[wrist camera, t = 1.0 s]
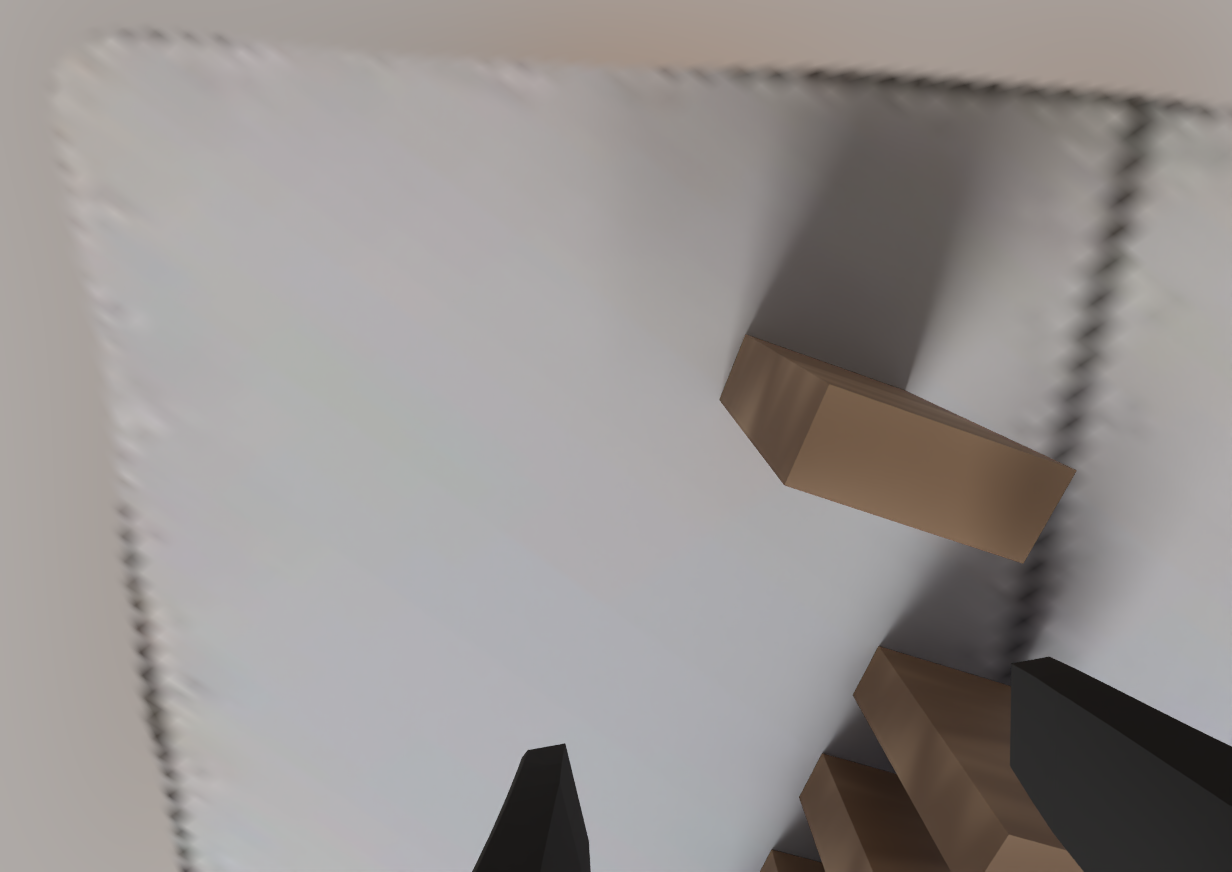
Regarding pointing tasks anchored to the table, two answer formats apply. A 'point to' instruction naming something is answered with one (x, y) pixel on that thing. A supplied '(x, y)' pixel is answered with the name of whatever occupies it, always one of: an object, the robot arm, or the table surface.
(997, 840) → the domino
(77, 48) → the table surface
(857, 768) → the domino
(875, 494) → the end domino
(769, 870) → the domino
